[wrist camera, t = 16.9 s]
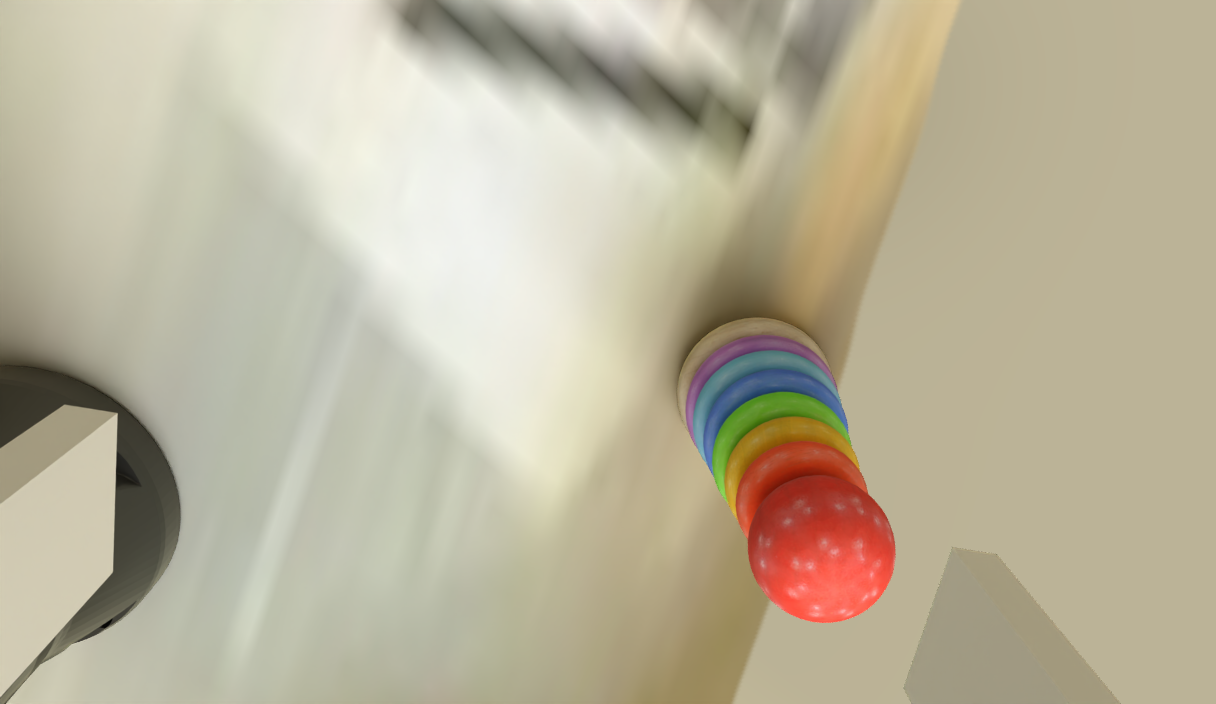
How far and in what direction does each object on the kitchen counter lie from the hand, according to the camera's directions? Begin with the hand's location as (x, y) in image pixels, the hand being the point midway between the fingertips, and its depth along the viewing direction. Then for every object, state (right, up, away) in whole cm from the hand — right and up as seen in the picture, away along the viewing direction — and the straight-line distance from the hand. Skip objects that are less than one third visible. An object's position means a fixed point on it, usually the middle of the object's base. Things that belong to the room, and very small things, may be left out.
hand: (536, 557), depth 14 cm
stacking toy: (+9, +1, +33) cm, 34 cm away
